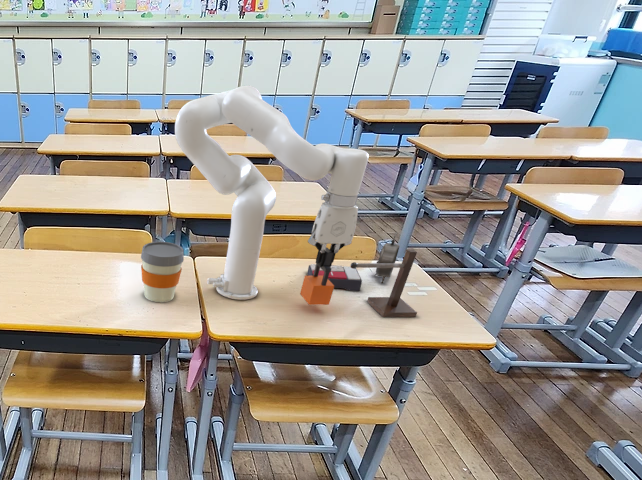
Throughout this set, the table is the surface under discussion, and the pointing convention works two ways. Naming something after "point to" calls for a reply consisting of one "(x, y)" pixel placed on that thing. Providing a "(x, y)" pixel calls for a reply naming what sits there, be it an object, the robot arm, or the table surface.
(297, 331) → the table surface
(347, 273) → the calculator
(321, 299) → the orange square box
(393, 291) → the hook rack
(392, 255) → the alarm clock
